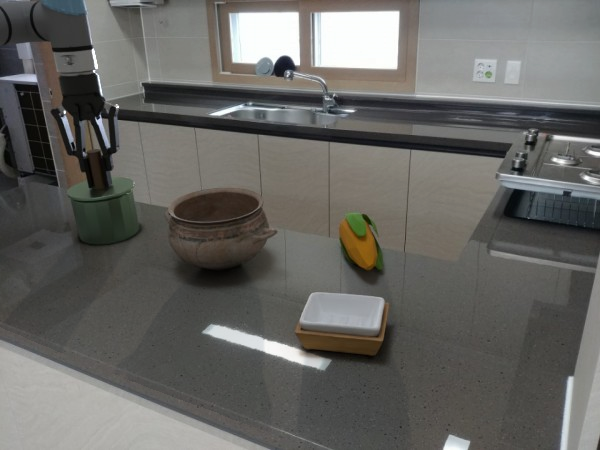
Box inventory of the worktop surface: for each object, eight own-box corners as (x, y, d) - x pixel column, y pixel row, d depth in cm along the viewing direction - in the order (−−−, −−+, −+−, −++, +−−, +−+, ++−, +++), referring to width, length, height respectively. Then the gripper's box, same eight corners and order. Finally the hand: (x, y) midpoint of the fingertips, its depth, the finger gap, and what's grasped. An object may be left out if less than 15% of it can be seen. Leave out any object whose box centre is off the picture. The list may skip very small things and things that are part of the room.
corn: (369, 201, 109) (392, 242, 91) (371, 234, 112) (394, 281, 94) (333, 205, 109) (349, 248, 91) (336, 239, 112) (352, 287, 94)
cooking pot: (302, 253, 106) (300, 195, 101) (250, 299, 91) (244, 234, 86) (201, 233, 117) (194, 180, 112) (139, 271, 102) (129, 211, 97)
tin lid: (53, 198, 113) (43, 156, 109) (103, 178, 124) (95, 140, 120) (100, 207, 107) (91, 163, 103) (148, 186, 118) (141, 145, 114)
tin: (67, 238, 117) (57, 198, 113) (110, 218, 127) (102, 180, 123) (109, 248, 112) (100, 206, 108) (151, 226, 122) (144, 186, 118)
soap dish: (388, 323, 83) (389, 295, 81) (382, 363, 74) (383, 332, 72) (309, 315, 85) (308, 288, 83) (295, 353, 77) (293, 323, 75)
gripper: (29, 77, 102) (56, 193, 111) (113, 73, 102) (133, 189, 112) (44, 72, 109) (69, 182, 118) (123, 68, 109) (141, 178, 119)
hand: (100, 185), depth 115 cm, fingers closed on tin lid, 3 cm apart
